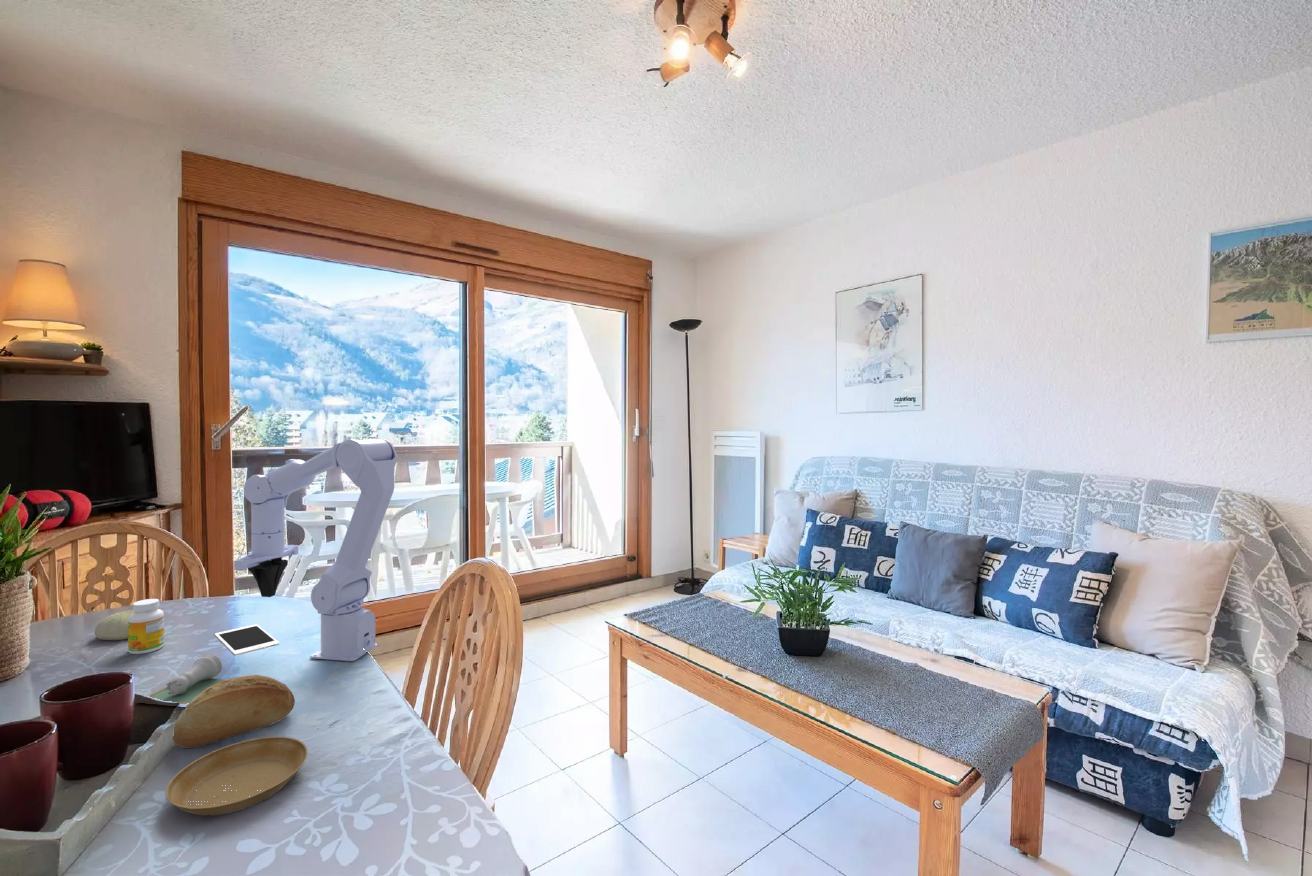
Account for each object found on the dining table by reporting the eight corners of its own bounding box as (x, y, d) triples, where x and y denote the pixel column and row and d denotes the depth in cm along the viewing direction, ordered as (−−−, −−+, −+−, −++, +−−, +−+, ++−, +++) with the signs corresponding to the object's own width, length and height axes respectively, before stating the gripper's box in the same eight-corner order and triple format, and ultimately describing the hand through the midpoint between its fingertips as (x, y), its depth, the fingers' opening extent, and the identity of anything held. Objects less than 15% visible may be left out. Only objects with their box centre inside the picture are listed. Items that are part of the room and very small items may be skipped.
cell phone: (234, 657, 112) (234, 654, 112) (214, 636, 123) (214, 633, 123) (280, 645, 118) (280, 642, 118) (256, 626, 129) (256, 623, 129)
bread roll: (301, 727, 87) (301, 676, 87) (174, 767, 77) (174, 709, 77) (288, 703, 94) (288, 656, 94) (170, 737, 84) (170, 684, 84)
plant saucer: (237, 837, 65) (237, 815, 64) (132, 818, 67) (131, 797, 67) (333, 761, 79) (333, 743, 79) (243, 748, 82) (243, 730, 82)
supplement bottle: (122, 651, 113) (121, 603, 112) (154, 642, 118) (154, 596, 117) (137, 656, 111) (137, 607, 110) (170, 646, 116) (169, 599, 115)
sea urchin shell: (166, 622, 124) (131, 604, 119) (132, 656, 119) (95, 638, 114) (150, 614, 129) (117, 596, 124) (118, 646, 124) (82, 629, 119)
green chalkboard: (248, 683, 101) (248, 680, 101) (201, 709, 92) (201, 706, 92) (188, 678, 102) (188, 676, 102) (136, 703, 93) (136, 700, 93)
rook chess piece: (223, 677, 102) (184, 703, 94) (199, 673, 102) (159, 698, 94) (224, 654, 102) (186, 678, 94) (201, 650, 102) (160, 674, 94)
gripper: (277, 524, 126) (277, 584, 126) (220, 537, 111) (220, 606, 112) (307, 525, 125) (307, 586, 125) (252, 539, 110) (252, 608, 111)
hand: (268, 595), depth 118 cm, fingers closed
